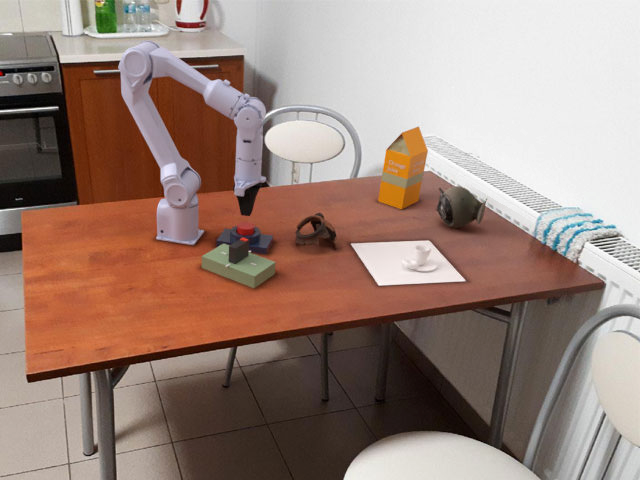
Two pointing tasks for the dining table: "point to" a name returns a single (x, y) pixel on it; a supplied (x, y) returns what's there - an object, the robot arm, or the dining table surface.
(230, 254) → the grey box red tab
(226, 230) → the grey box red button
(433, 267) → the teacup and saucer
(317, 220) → the dark brown ringed frame
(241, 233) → the button
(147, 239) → the dining table surface
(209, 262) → the green toggle switch panel
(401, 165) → the orange juice
